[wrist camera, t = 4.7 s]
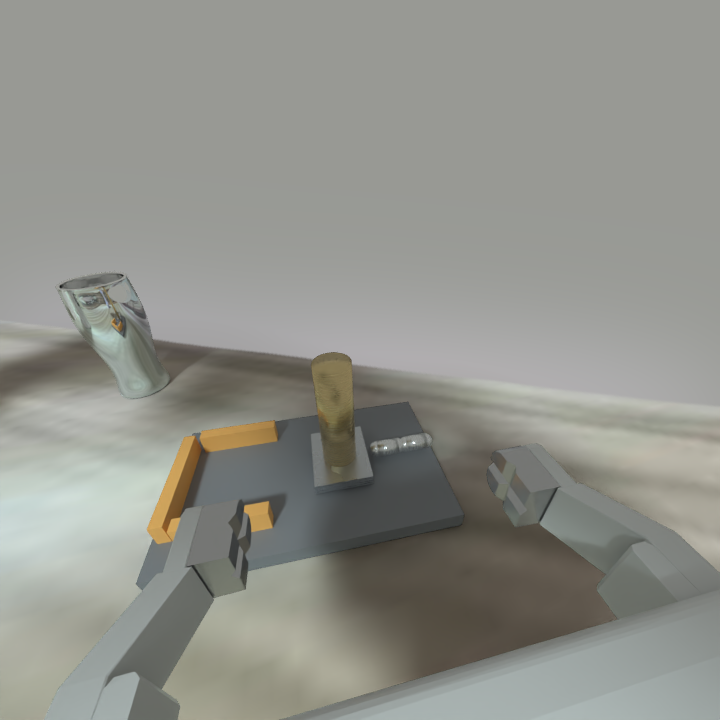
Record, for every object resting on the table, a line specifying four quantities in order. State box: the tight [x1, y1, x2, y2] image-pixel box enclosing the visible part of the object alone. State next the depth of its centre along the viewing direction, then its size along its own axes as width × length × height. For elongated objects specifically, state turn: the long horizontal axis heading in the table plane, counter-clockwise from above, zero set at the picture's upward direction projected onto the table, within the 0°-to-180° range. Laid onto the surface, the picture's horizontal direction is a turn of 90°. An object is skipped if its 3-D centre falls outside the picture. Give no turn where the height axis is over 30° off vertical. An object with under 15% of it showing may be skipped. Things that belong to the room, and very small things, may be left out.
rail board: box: [136, 402, 464, 590], centre depth 28 cm, size 24×14×4 cm, turn 101°
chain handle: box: [311, 352, 432, 494], centre depth 26 cm, size 12×6×11 cm, turn 101°
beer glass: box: [56, 272, 170, 399], centre depth 38 cm, size 7×7×15 cm
